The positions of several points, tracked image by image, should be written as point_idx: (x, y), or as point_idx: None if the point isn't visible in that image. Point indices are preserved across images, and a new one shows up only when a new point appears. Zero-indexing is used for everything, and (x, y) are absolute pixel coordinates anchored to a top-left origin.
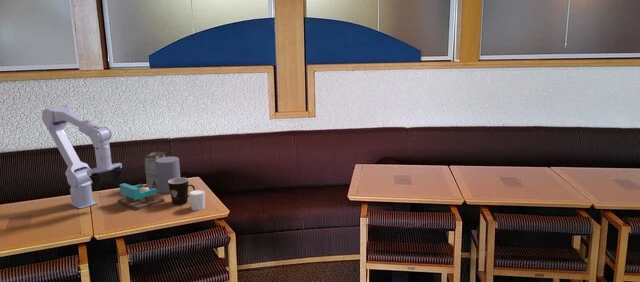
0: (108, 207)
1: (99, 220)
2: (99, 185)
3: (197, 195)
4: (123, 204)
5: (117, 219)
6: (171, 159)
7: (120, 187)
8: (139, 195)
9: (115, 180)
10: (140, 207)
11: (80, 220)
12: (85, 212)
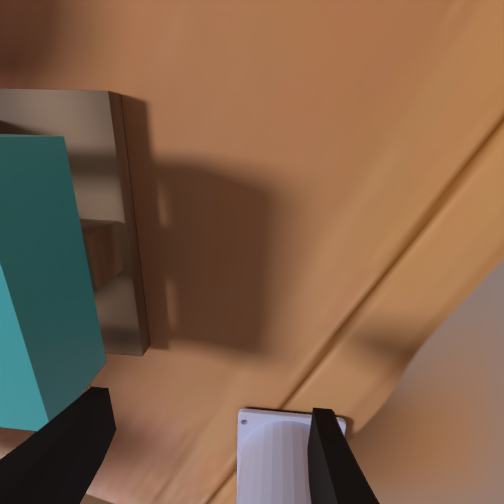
0: (230, 317)
1: (419, 150)
2: (337, 476)
3: None
4: (142, 285)
5: (332, 37)
6: None
7: (68, 398)
8: None
9: (55, 465)
10: (83, 90)
11: (479, 266)
12: (361, 355)
